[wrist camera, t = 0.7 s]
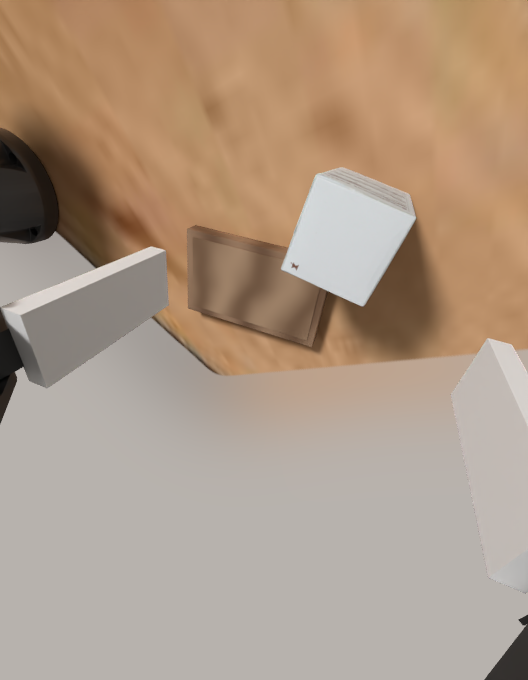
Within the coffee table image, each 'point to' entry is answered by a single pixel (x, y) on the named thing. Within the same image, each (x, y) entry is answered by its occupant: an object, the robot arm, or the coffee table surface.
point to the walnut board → (250, 286)
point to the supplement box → (348, 233)
